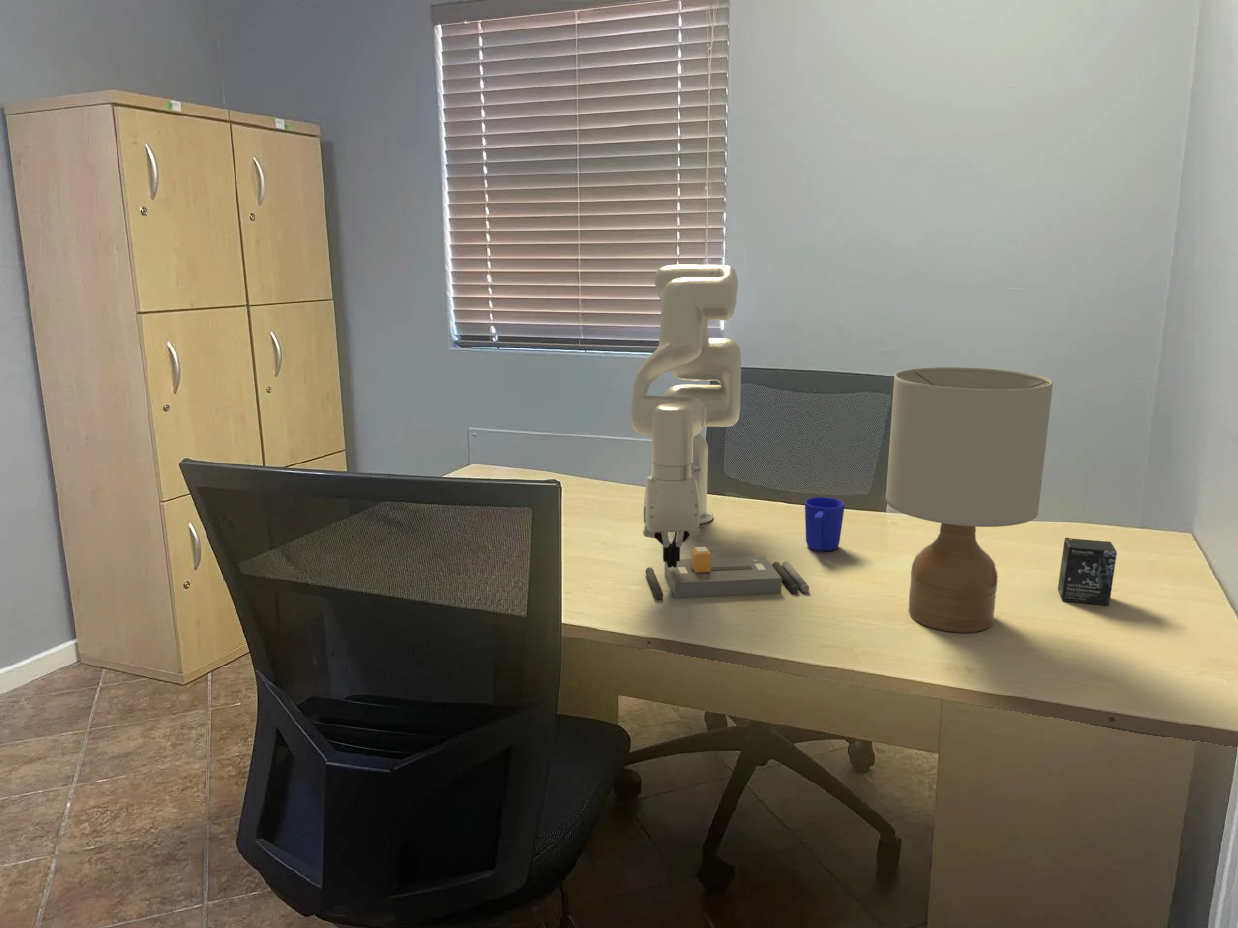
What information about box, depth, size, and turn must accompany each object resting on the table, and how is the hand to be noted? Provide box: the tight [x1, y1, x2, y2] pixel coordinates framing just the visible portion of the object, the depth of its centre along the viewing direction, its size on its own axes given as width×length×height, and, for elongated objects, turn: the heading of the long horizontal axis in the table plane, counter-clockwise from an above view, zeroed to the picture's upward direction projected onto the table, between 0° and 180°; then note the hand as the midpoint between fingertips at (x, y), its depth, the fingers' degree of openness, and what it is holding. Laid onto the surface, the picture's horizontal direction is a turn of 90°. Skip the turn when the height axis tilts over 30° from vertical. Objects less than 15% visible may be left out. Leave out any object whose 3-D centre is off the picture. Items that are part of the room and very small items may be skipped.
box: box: [1057, 537, 1118, 607], centre depth 163 cm, size 8×6×11 cm
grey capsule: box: [771, 561, 800, 594], centre depth 174 cm, size 14×2×2 cm, turn 6°
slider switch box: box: [664, 555, 783, 599], centre depth 172 cm, size 12×20×3 cm, turn 96°
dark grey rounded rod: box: [645, 567, 664, 600], centre depth 171 cm, size 14×2×2 cm, turn 6°
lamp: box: [885, 366, 1054, 634], centre depth 152 cm, size 24×24×42 cm
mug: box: [804, 496, 846, 552], centre depth 189 cm, size 8×12×10 cm
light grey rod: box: [781, 560, 810, 593], centre depth 174 cm, size 14×2×2 cm, turn 6°
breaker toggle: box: [690, 546, 712, 573], centre depth 171 cm, size 4×3×4 cm
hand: (671, 564), depth 170 cm, fingers closed
